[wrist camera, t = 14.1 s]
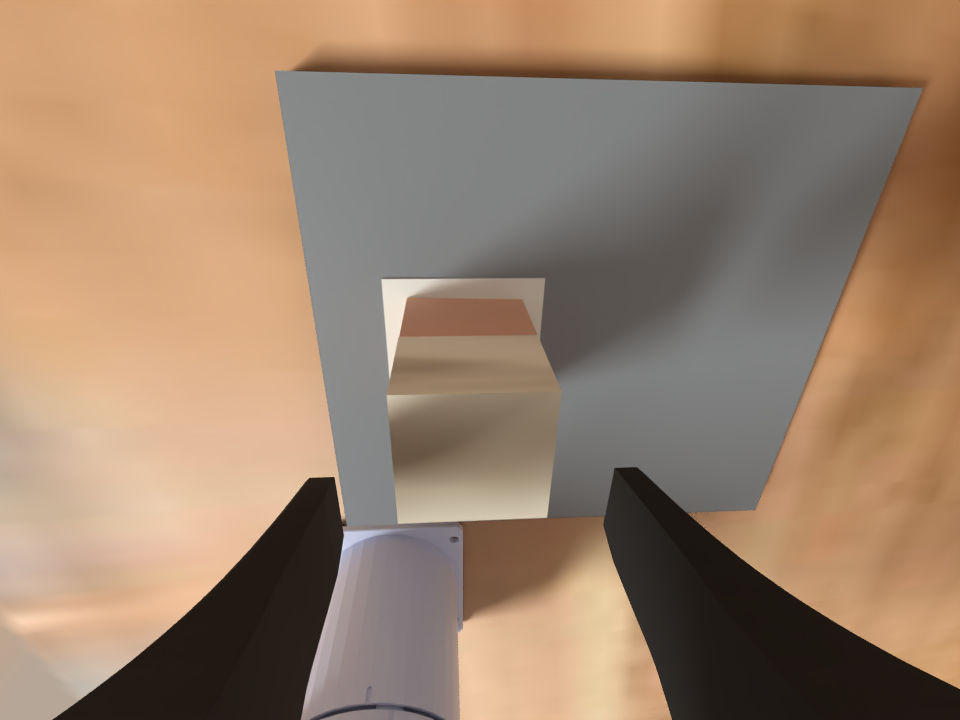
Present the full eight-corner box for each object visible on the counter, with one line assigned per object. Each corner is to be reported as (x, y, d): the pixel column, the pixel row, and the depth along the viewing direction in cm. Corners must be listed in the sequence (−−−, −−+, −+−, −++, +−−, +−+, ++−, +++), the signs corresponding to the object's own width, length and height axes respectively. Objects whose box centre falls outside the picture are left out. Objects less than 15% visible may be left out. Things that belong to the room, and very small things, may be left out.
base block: (513, 396, 21) (526, 446, 18) (410, 396, 21) (404, 448, 17) (522, 299, 19) (538, 336, 16) (407, 297, 18) (399, 335, 15)
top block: (528, 445, 18) (547, 517, 14) (406, 448, 17) (398, 523, 14) (537, 335, 16) (561, 391, 12) (398, 336, 15) (386, 395, 12)
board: (742, 494, 27) (756, 511, 25) (351, 508, 25) (346, 527, 24) (893, 89, 17) (925, 87, 16) (285, 73, 16) (273, 70, 15)
